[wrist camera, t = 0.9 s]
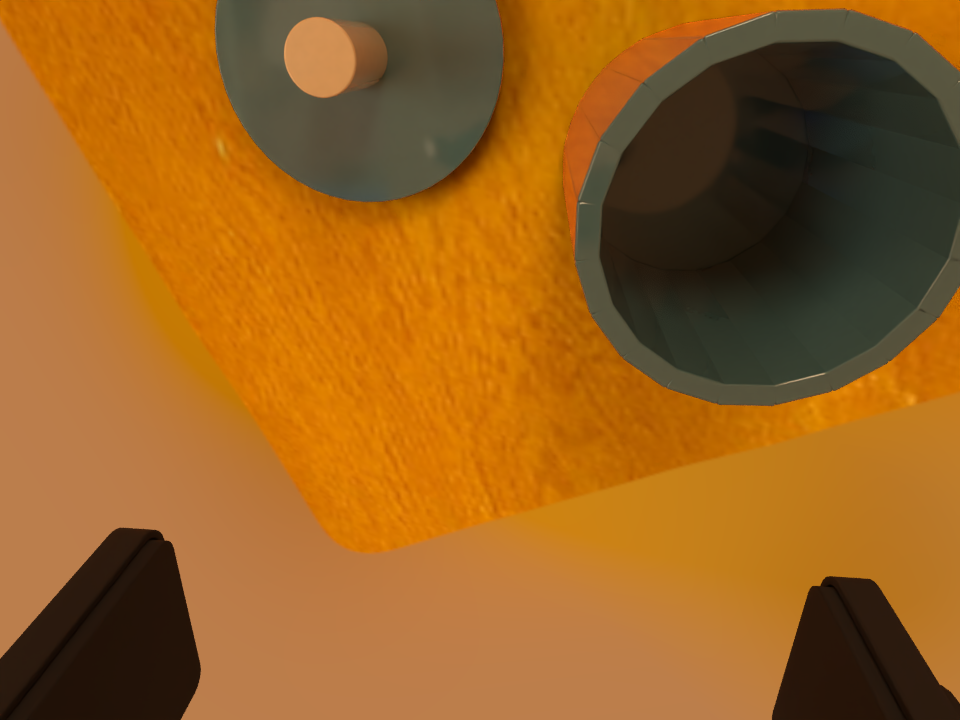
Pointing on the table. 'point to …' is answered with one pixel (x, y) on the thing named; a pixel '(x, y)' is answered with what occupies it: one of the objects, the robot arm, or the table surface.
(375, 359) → the table surface
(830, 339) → the canister
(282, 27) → the canister lid
